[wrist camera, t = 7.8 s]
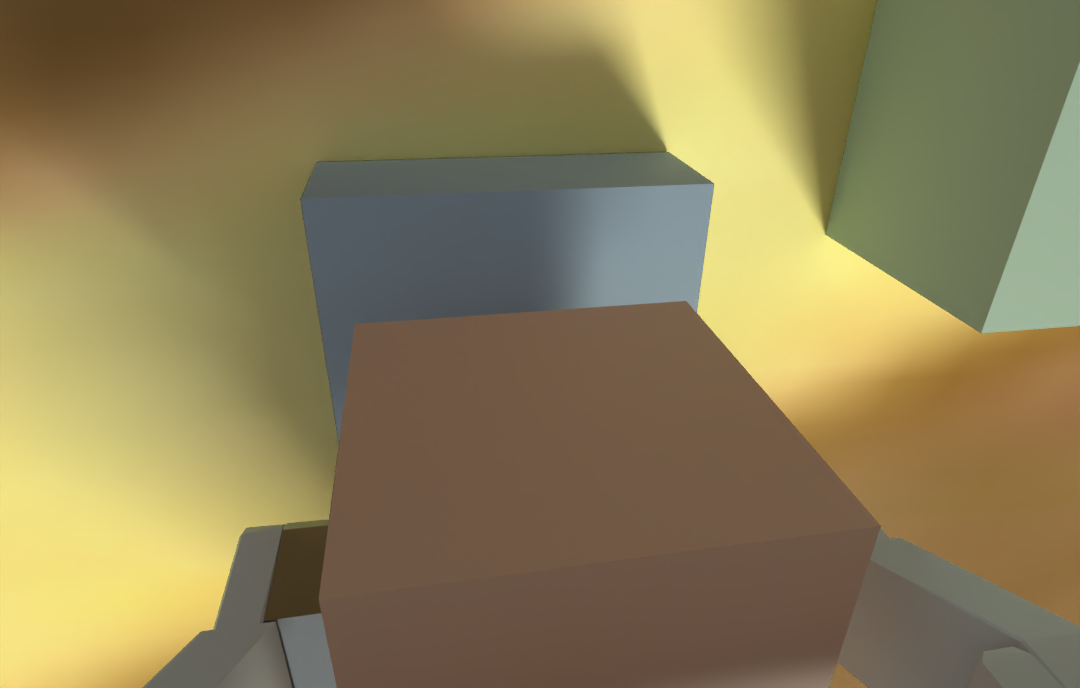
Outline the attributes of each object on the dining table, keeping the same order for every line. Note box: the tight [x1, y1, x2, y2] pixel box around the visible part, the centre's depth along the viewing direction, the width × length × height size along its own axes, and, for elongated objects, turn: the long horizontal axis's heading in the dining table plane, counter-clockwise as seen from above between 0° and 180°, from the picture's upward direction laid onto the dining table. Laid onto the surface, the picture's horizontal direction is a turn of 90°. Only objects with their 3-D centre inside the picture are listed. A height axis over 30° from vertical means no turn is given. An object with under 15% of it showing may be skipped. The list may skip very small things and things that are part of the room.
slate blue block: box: [300, 152, 714, 441], centre depth 14 cm, size 7×7×2 cm
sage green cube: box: [826, 0, 1080, 333], centre depth 13 cm, size 5×5×5 cm
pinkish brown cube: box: [319, 301, 881, 688], centre depth 9 cm, size 5×5×5 cm
